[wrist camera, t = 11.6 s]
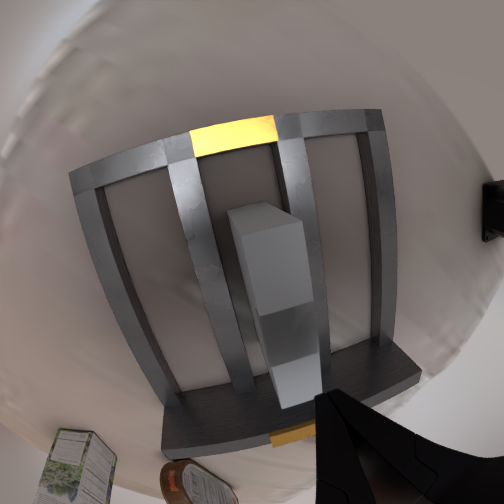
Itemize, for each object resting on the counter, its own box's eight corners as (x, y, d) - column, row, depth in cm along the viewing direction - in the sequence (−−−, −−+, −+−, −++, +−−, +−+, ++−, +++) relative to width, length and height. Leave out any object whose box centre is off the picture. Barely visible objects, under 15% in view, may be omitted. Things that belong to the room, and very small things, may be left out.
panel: (264, 201, 17) (303, 220, 10) (289, 332, 20) (323, 395, 13) (225, 210, 17) (239, 236, 10) (258, 341, 20) (281, 409, 13)
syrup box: (82, 453, 22) (65, 540, 8) (57, 426, 20) (28, 520, 6) (118, 456, 22) (107, 553, 8) (93, 429, 20) (70, 538, 7)
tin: (158, 451, 22) (156, 512, 14) (181, 446, 23) (183, 511, 15) (221, 491, 27) (228, 536, 19) (240, 487, 27) (249, 532, 19)
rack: (369, 112, 16) (430, 97, 10) (383, 345, 22) (421, 385, 16) (78, 172, 14) (21, 176, 8) (172, 405, 20) (169, 463, 14)
